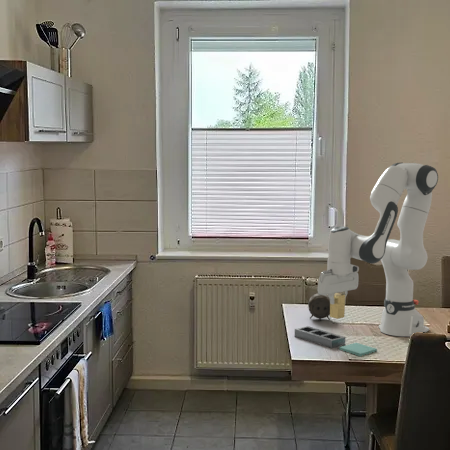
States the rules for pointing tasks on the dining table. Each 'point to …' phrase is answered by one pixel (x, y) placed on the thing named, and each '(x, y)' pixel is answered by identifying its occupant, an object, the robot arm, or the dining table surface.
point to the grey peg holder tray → (320, 337)
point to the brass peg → (338, 306)
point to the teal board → (358, 349)
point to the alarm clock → (319, 306)
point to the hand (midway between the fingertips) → (337, 303)
